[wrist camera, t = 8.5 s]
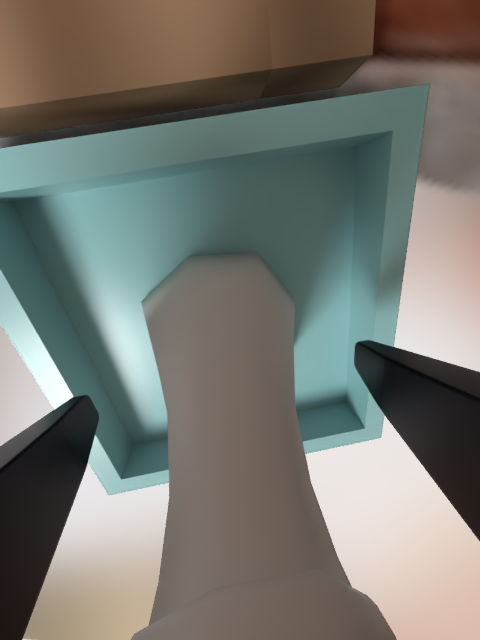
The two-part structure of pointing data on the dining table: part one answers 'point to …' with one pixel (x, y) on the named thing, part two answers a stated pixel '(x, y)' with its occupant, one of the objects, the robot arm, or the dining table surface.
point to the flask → (240, 468)
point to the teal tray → (209, 239)
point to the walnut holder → (168, 55)
